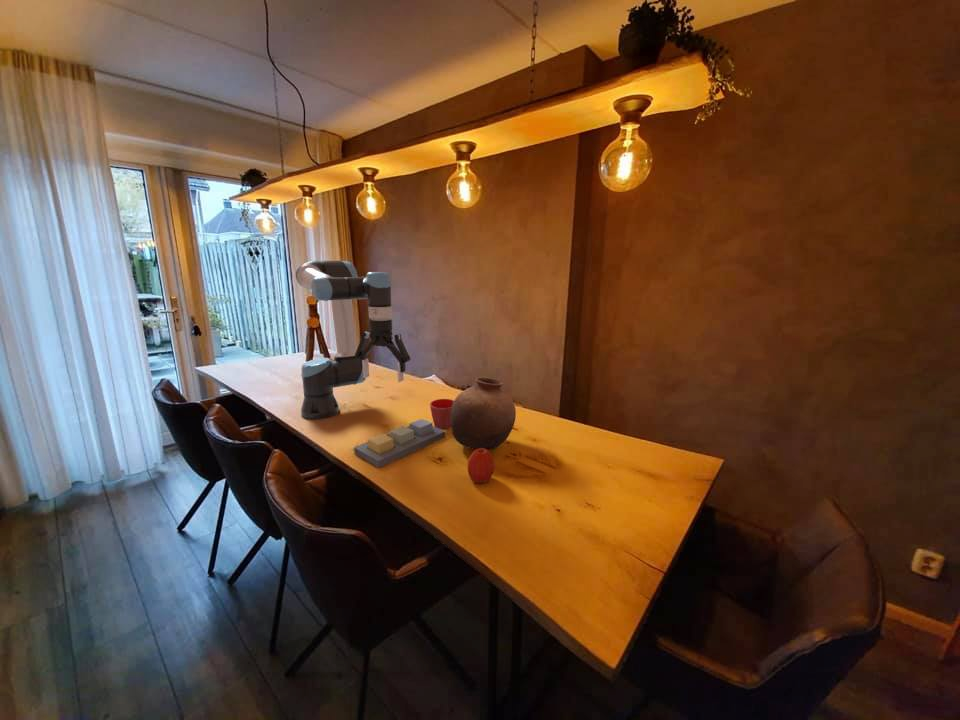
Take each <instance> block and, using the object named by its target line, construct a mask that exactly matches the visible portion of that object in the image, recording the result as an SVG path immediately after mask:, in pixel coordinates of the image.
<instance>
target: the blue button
mask: <svg viewBox="0 0 960 720" xmlns="http://www.w3.org/2000/svg"><path fill="white" fill-rule="evenodd" d="M409 426H410V429H411V430H414V434H415V435H418V436H423V435H425V434H427V433H430V432H432V426H433V422H431V421H429V420H425V419H423V418H420V419H418V420H415V421H413V422H410V423H409Z"/></svg>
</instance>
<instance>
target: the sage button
mask: <svg viewBox="0 0 960 720" xmlns="http://www.w3.org/2000/svg"><path fill="white" fill-rule="evenodd" d="M389 433H390V438H393V442H395V443H397V444H399V445H402V444H404V443H407V442H409V441H411V440H414V430H411V429H409V428H407V426H404V425H402V426H399V427H396V428H394V429H391V430H389Z"/></svg>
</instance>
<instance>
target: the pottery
mask: <svg viewBox="0 0 960 720" xmlns="http://www.w3.org/2000/svg"><path fill="white" fill-rule="evenodd" d="M475 382H476V385H474V386H470V387H468V388H466V389H465V390H463V391H461V392H460V393H458V395H457V396H456V397H455V399H453V400H454V403H453V405H452V409H451V416H450V424H451V428H450V429H451V432H452V435H453V437H454V439H455V441H456V442H457V443H458V444H460V445H462V446H464V447H466V448H468V449H471V450H474V451H475V450H476V449H479V448H484V449H486V450H488V451H492V450H495V449H497V448H498V447H500V446H501V445H502V444H505V442H506V441H507V439H508V438H509V436H510V435H511V433H512V431H513V428H514V425H515V422H516V416H517V414H516V412H517V411H516V406H515V403H514V402H513V400H512V398H511V397H510V396H509V395H508V394H507V393H506V392H505V391H503V390H502V388H501V387H502V386H503V385H504V382H503V381H501V380H498V379H495V378H490V377H476V378H475Z"/></svg>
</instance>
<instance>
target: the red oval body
mask: <svg viewBox="0 0 960 720" xmlns="http://www.w3.org/2000/svg"><path fill="white" fill-rule="evenodd" d="M468 459H469V460H468V462H467V473H468V475H469V478H470V480H471V481H472V482H473V483H474V484H483V483H485V482H488V481H490V479H491V478H492V476H493V474H494V472H495V469H496V468H495V466H496V465H495V461H494V458H493V456H492V454H491V453H490V450H486V449H484V448H479V449H476V450H475V449H474V451H473V452H472V454H471V455H470V457H469V458H468Z"/></svg>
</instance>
